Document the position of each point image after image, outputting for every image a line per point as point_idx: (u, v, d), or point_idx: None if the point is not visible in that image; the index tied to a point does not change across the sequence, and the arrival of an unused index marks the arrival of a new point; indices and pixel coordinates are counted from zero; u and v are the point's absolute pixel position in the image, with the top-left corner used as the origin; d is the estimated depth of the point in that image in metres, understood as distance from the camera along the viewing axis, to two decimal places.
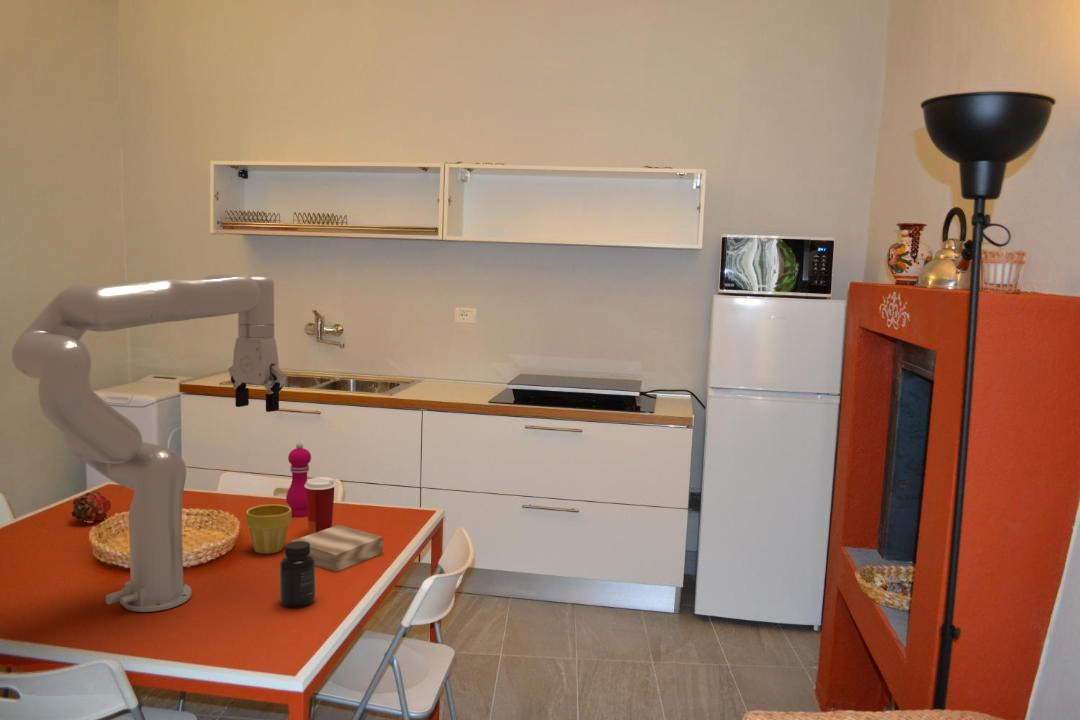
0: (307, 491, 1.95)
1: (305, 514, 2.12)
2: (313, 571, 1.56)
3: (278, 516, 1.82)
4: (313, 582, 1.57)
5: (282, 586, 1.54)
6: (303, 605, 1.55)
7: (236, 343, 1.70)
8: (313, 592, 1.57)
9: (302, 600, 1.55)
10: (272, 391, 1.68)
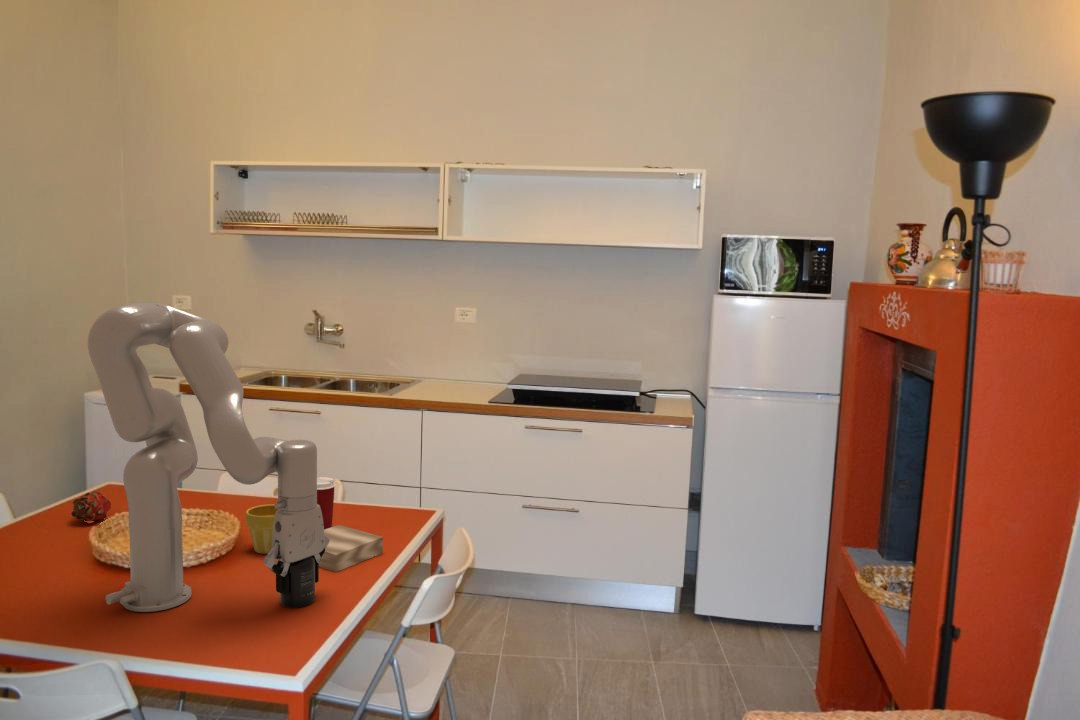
0: None
1: None
2: (313, 571, 1.56)
3: None
4: (313, 582, 1.57)
5: None
6: (303, 605, 1.55)
7: (291, 521, 1.51)
8: (313, 592, 1.57)
9: (302, 600, 1.55)
10: None
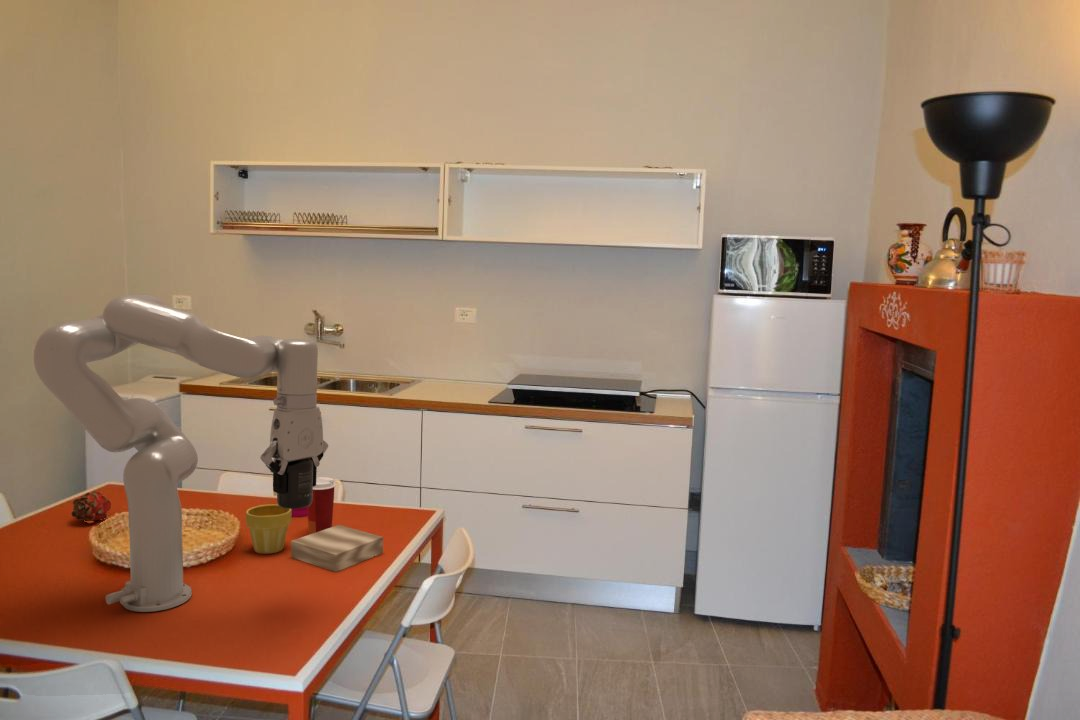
0: None
1: (305, 514, 2.12)
2: (311, 473, 1.54)
3: (278, 516, 1.82)
4: (311, 484, 1.54)
5: None
6: (300, 506, 1.53)
7: (290, 418, 1.49)
8: (311, 494, 1.55)
9: (300, 501, 1.52)
10: None
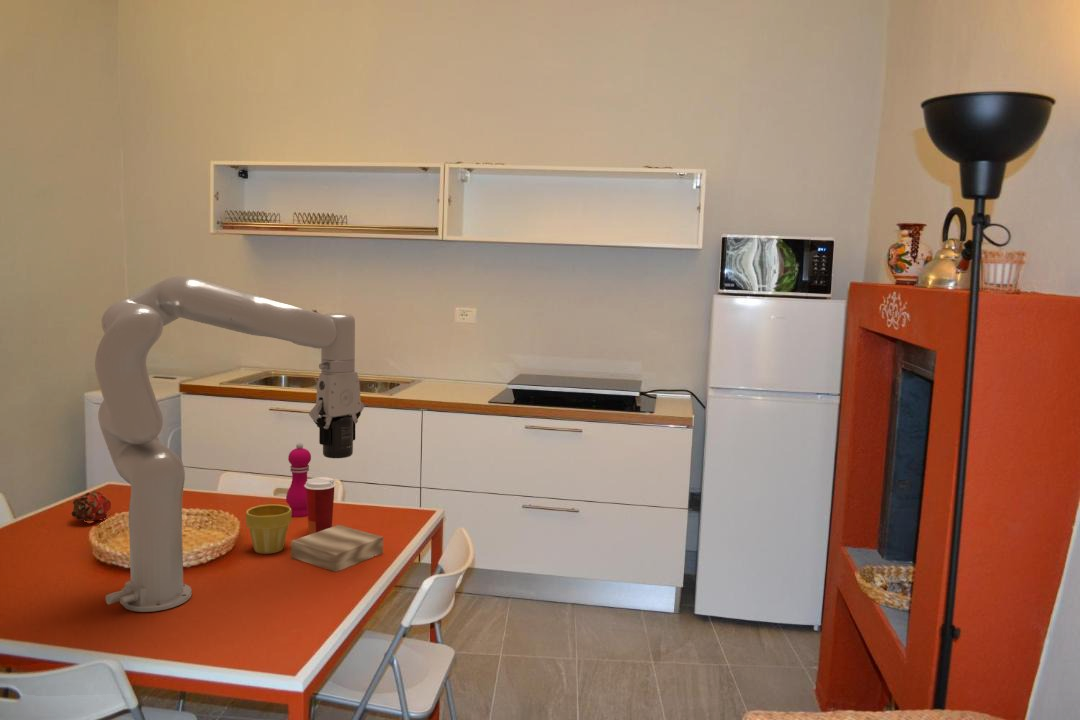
0: (307, 491, 1.95)
1: (305, 514, 2.12)
2: (351, 428, 1.80)
3: (278, 516, 1.82)
4: (351, 437, 1.80)
5: None
6: (343, 456, 1.78)
7: (333, 380, 1.75)
8: (351, 446, 1.80)
9: (342, 452, 1.78)
10: None
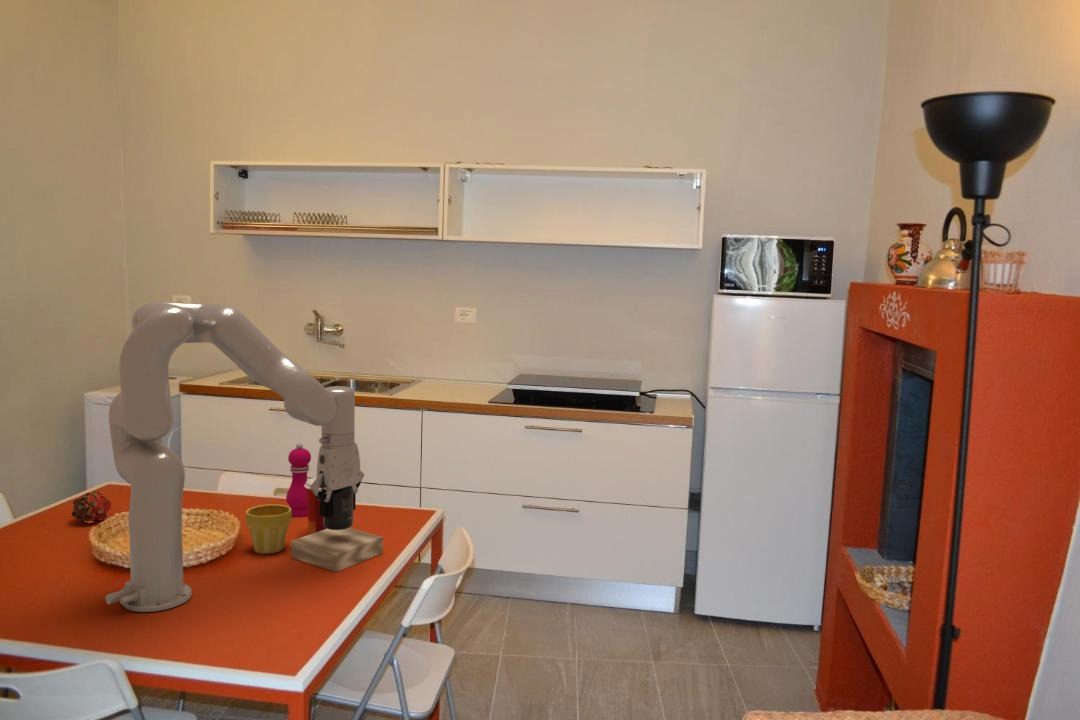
0: (307, 491, 1.95)
1: (305, 514, 2.12)
2: (352, 499, 1.82)
3: (278, 516, 1.82)
4: (352, 508, 1.82)
5: None
6: (344, 528, 1.80)
7: (334, 454, 1.77)
8: (352, 517, 1.82)
9: (343, 524, 1.80)
10: None
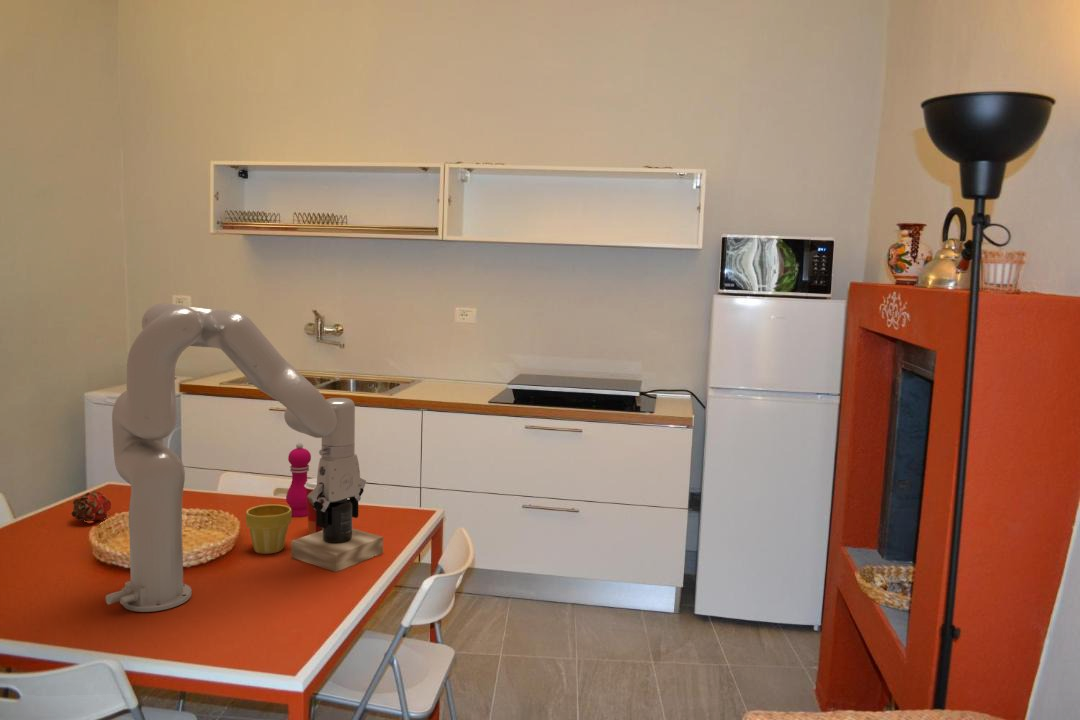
0: (307, 491, 1.95)
1: (305, 514, 2.12)
2: (351, 512, 1.82)
3: (278, 516, 1.82)
4: (351, 522, 1.82)
5: None
6: (343, 541, 1.81)
7: (334, 466, 1.77)
8: (351, 531, 1.83)
9: (342, 537, 1.80)
10: None
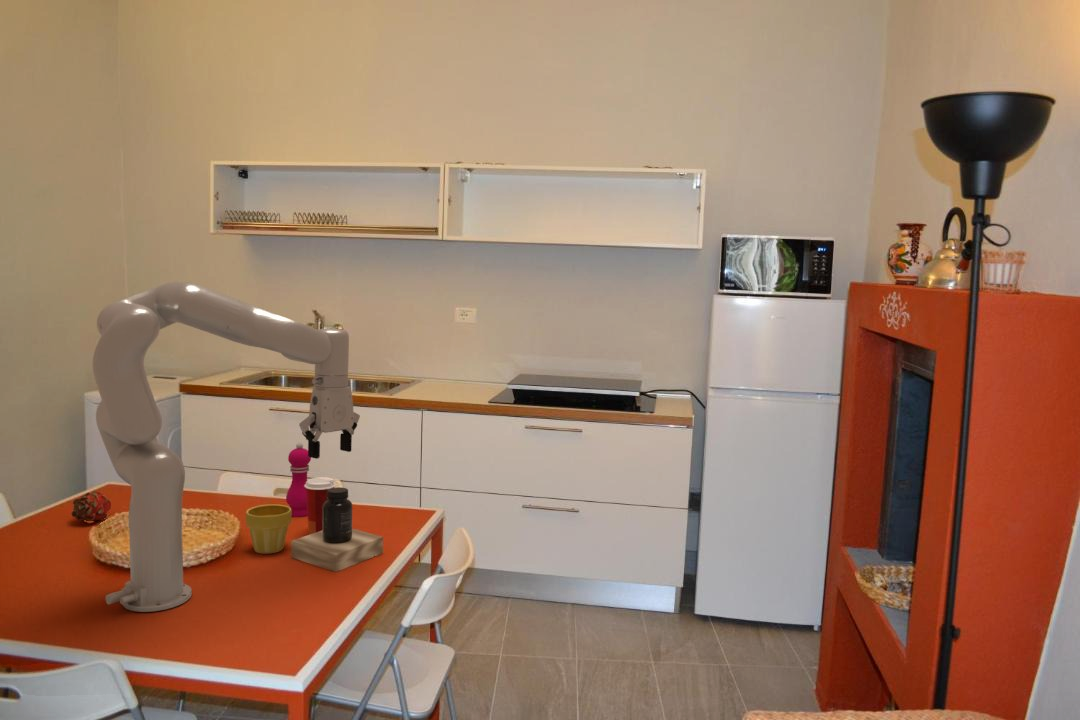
0: (307, 491, 1.95)
1: (305, 514, 2.12)
2: (351, 512, 1.82)
3: (278, 516, 1.82)
4: (351, 522, 1.82)
5: (325, 524, 1.80)
6: (343, 541, 1.81)
7: (326, 395, 1.75)
8: (351, 531, 1.83)
9: (342, 537, 1.80)
10: None
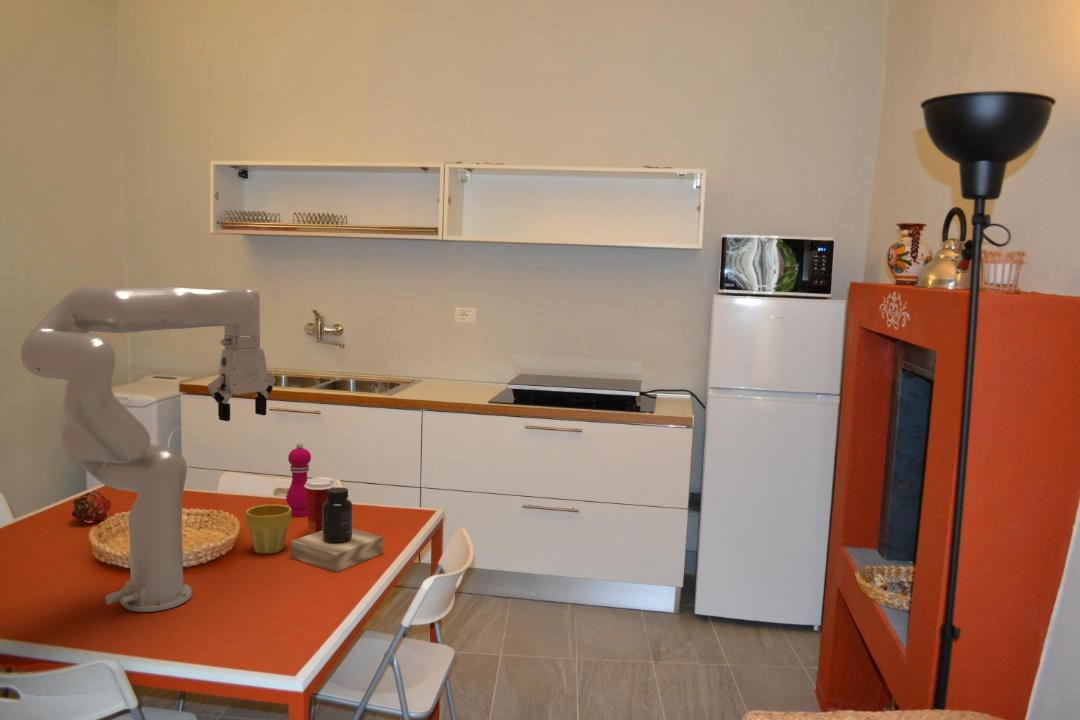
0: (307, 491, 1.95)
1: (305, 514, 2.12)
2: (351, 512, 1.82)
3: (278, 516, 1.82)
4: (351, 522, 1.82)
5: (325, 524, 1.80)
6: (343, 541, 1.81)
7: (236, 356, 1.71)
8: (351, 531, 1.83)
9: (342, 537, 1.80)
10: None
